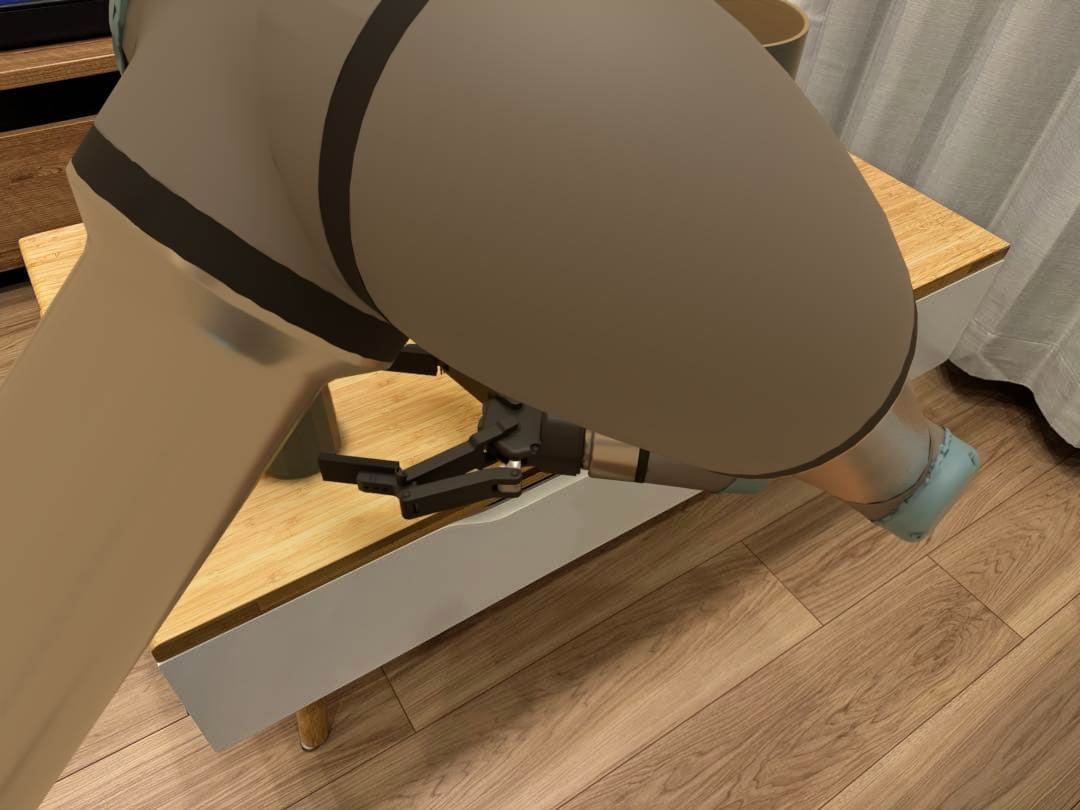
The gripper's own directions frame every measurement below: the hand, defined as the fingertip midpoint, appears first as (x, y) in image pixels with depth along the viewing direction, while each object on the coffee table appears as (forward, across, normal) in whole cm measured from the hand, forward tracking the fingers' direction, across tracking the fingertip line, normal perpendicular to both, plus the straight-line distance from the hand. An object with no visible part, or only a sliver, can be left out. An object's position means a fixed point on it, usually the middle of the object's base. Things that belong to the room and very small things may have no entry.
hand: (345, 407), depth 68 cm
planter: (-32, +61, -6) cm, 69 cm away
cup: (+6, 0, -6) cm, 8 cm away
